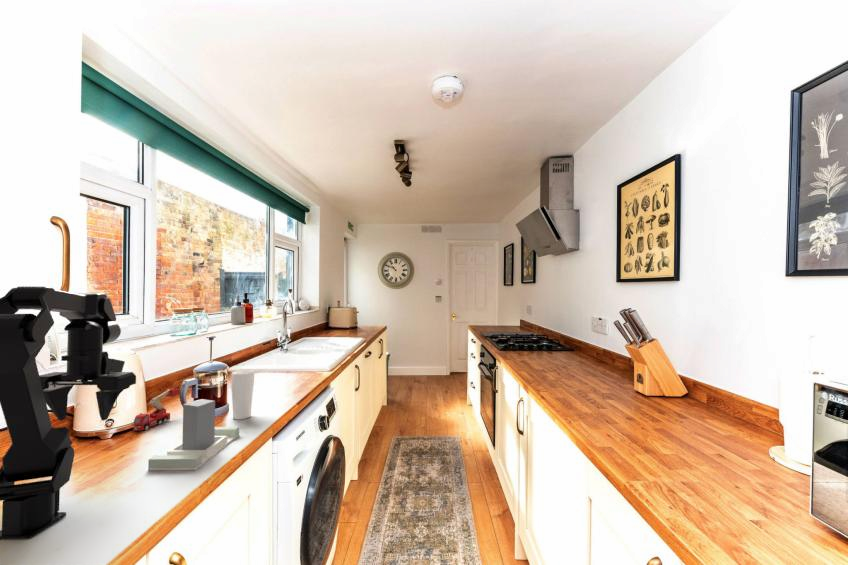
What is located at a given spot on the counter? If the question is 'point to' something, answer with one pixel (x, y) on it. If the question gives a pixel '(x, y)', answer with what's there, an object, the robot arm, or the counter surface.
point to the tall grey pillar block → (198, 424)
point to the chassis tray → (193, 453)
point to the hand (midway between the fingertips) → (83, 420)
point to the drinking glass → (242, 393)
